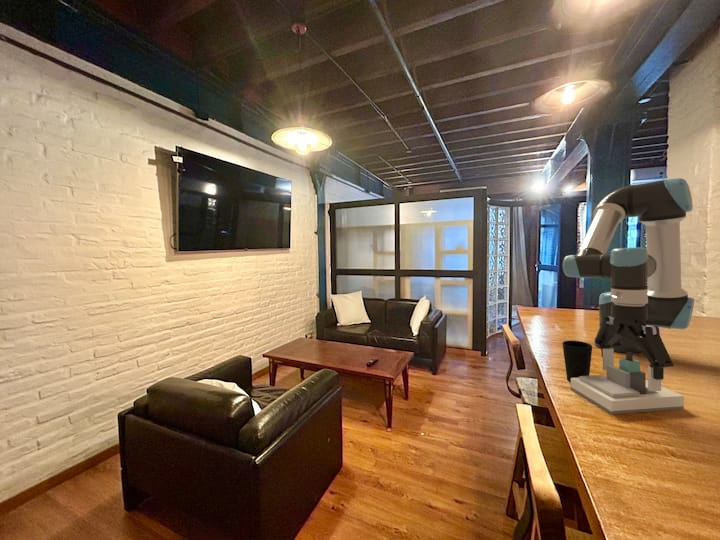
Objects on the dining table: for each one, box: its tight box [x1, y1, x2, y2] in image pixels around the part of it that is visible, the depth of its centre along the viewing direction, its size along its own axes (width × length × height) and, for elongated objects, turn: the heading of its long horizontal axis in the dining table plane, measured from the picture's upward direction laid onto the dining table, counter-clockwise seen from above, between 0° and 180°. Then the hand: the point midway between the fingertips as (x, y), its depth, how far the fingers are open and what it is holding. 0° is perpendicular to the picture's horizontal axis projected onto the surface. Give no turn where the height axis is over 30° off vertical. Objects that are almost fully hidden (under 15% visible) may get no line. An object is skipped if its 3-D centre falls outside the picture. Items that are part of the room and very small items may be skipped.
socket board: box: [570, 377, 685, 415], centre depth 82 cm, size 19×14×4 cm
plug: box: [618, 352, 647, 395], centre depth 82 cm, size 5×4×12 cm
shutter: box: [579, 365, 640, 397], centre depth 82 cm, size 7×11×5 cm, turn 2°
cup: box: [561, 340, 593, 383], centre depth 94 cm, size 8×8×12 cm
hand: (629, 379), depth 82 cm, fingers open, 13 cm apart
